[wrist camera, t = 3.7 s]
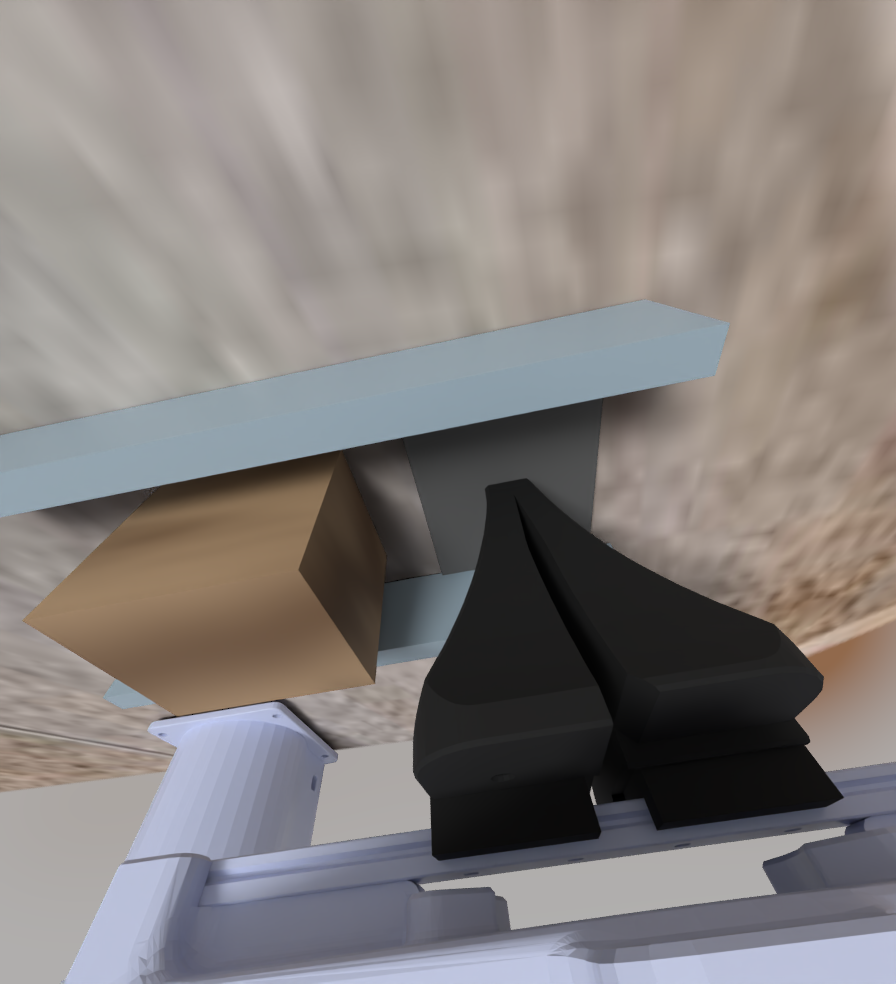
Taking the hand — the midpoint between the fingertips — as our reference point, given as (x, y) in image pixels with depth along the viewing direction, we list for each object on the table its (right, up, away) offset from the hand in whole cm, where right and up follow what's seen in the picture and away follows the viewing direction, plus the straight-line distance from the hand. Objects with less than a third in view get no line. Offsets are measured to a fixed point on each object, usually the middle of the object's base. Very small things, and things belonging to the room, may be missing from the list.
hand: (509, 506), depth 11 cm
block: (-8, -1, +1) cm, 8 cm away
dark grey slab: (0, +1, +1) cm, 1 cm away
